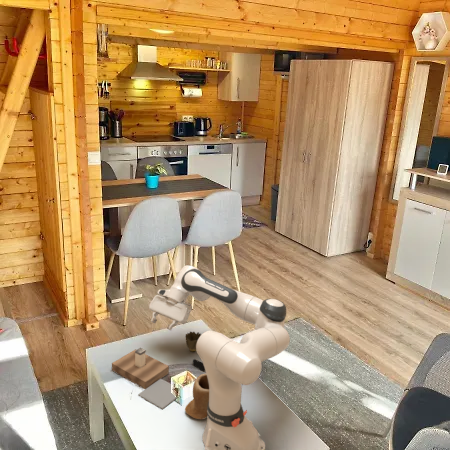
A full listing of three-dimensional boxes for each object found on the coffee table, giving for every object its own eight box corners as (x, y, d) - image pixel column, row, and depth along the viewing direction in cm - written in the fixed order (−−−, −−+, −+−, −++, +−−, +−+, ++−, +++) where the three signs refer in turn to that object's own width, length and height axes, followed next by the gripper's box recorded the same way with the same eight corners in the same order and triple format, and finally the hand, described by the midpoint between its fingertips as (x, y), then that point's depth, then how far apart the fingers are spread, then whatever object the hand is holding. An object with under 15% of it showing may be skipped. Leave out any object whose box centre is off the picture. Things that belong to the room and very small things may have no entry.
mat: (184, 392, 185) (184, 391, 185) (162, 409, 175) (162, 408, 175) (160, 379, 192) (160, 378, 192) (138, 395, 182) (138, 394, 182)
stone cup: (205, 427, 168) (207, 392, 163) (180, 413, 174) (181, 379, 169) (228, 405, 180) (231, 372, 175) (204, 393, 186) (206, 361, 181)
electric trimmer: (196, 362, 206) (196, 356, 205) (224, 376, 198) (224, 369, 197) (190, 366, 203) (190, 360, 202) (219, 380, 195) (219, 373, 194)
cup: (182, 353, 212) (182, 337, 210) (188, 344, 219) (188, 330, 216) (197, 356, 210) (198, 341, 208) (203, 348, 217) (203, 333, 214)
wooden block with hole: (168, 373, 197) (168, 366, 196) (145, 389, 186) (145, 382, 185) (135, 355, 208) (135, 349, 207) (111, 370, 197) (111, 363, 196)
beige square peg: (145, 371, 197) (145, 350, 194) (140, 374, 195) (140, 353, 192) (140, 368, 199) (140, 347, 196) (135, 372, 197) (135, 350, 193)
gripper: (196, 307, 203) (182, 336, 199) (162, 294, 214) (147, 320, 210) (190, 302, 198) (175, 331, 194) (156, 288, 209) (140, 315, 205)
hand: (160, 325), depth 202 cm, fingers open, 8 cm apart
